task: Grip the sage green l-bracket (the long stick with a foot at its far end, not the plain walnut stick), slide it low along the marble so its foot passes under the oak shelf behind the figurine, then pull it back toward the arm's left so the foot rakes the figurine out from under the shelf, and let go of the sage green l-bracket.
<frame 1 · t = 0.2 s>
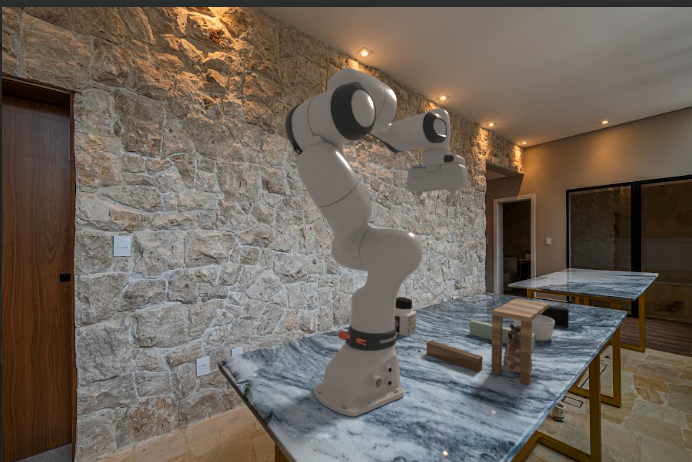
hand: (435, 204, 97), 48 cm above the table, tool pointing down, fingers open, 8 cm apart
shelf: (521, 365, 86), on the table
stick: (452, 362, 88), on the table
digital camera: (553, 323, 128), on the table
container: (402, 332, 114), on the table
ramekin: (533, 336, 112), on the table
sage green l-bracket: (474, 334, 113), on the table
figurine: (517, 368, 85), on the table
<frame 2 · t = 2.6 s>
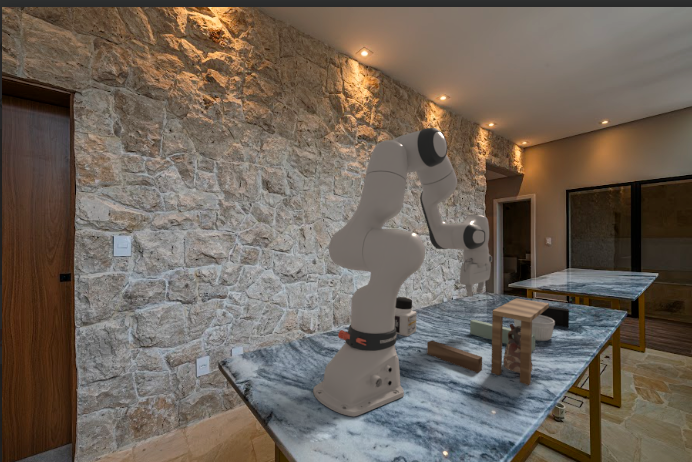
hand: (475, 294, 113), 15 cm above the table, tool pointing down, fingers open, 8 cm apart
nothing on the table moved.
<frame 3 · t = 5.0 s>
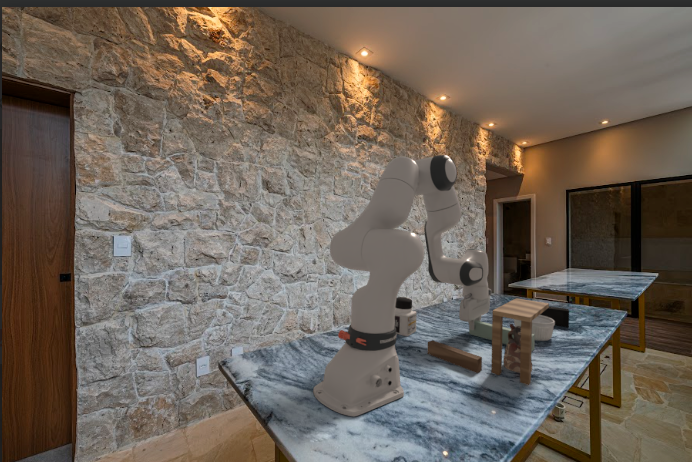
hand: (474, 328, 113), 2 cm above the table, tool pointing down, fingers closed on sage green l-bracket, 3 cm apart
sage green l-bracket: (474, 334, 113), on the table, touching gripper
everything else where it was.
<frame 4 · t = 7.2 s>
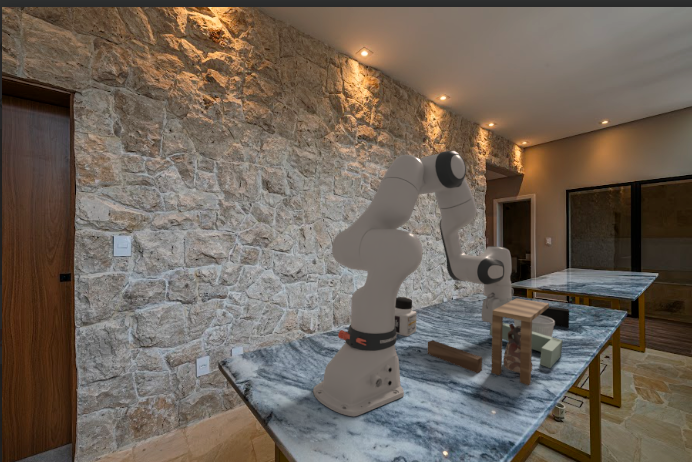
hand: (496, 329, 107), 4 cm above the table, tool pointing down, fingers closed on sage green l-bracket, 3 cm apart
sage green l-bracket: (494, 335, 108), point 1 cm above the table, touching gripper
everything else where it was.
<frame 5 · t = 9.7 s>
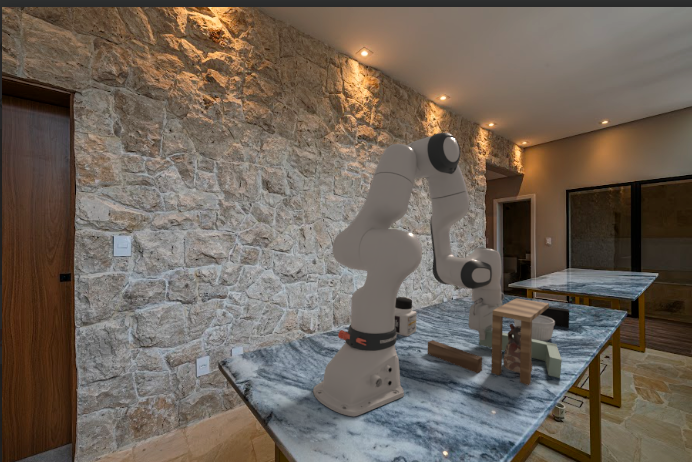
hand: (485, 337, 99), 3 cm above the table, tool pointing down, fingers closed on sage green l-bracket, 3 cm apart
sage green l-bracket: (483, 344, 99), point 1 cm above the table, touching gripper
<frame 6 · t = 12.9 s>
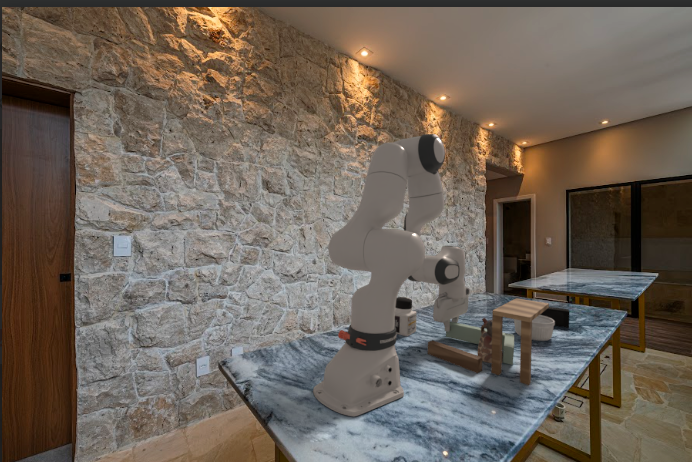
hand: (450, 329, 107), 4 cm above the table, tool pointing down, fingers closed on sage green l-bracket, 3 cm apart
sage green l-bracket: (450, 336, 107), point 1 cm above the table, touching gripper, figurine
figurine: (490, 359, 91), on the table, touching sage green l-bracket
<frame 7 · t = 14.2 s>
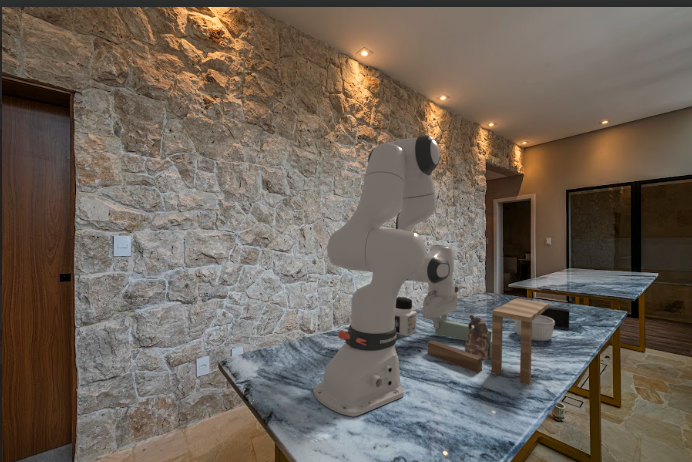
hand: (440, 326, 110), 4 cm above the table, tool pointing down, fingers closed on sage green l-bracket, 3 cm apart
sage green l-bracket: (439, 333, 110), point 1 cm above the table, touching gripper, figurine
figurine: (477, 355, 94), on the table, touching sage green l-bracket
when the fingers open (4 cm above the table, at t = 14.4 s): sage green l-bracket drops 1 cm, on the table.
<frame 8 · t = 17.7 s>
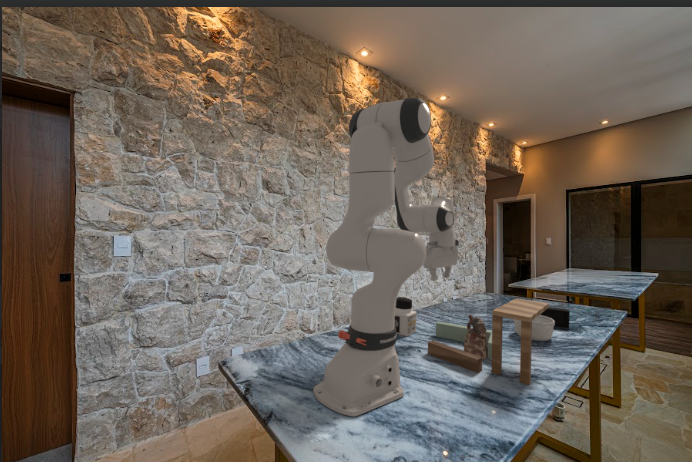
hand: (440, 279, 110), 21 cm above the table, tool pointing down, fingers open, 8 cm apart
sage green l-bracket: (440, 336, 110), on the table
figurine: (475, 354, 94), on the table
at the end: figurine inside the target area (9.9 cm from its centre), on the table; the gripper is holding nothing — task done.
